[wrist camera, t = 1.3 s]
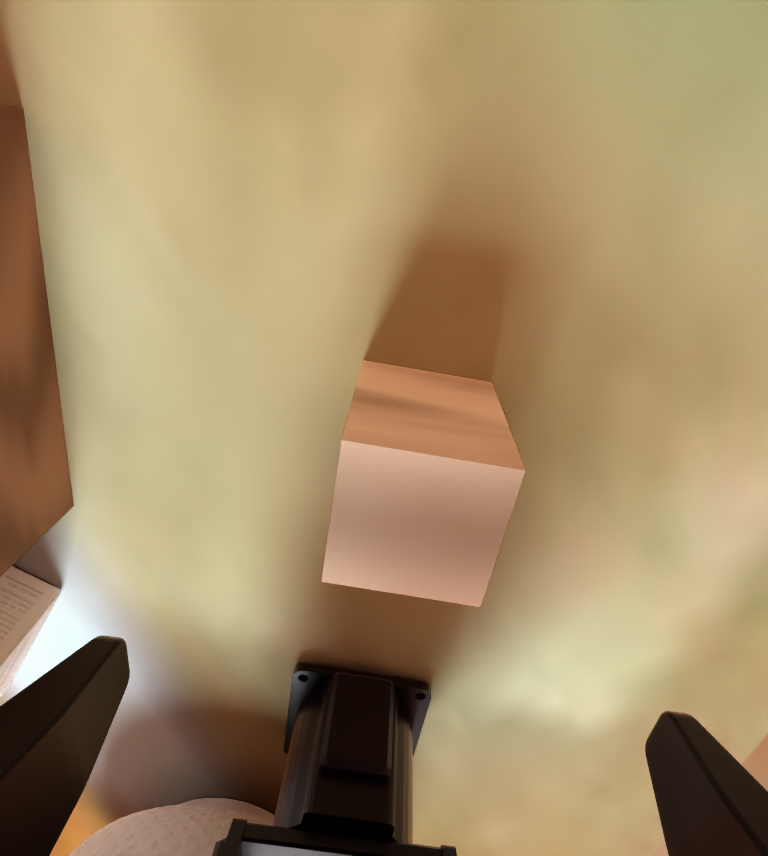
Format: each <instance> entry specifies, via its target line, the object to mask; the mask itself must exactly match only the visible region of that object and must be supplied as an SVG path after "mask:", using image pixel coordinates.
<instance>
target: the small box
mask: <svg viewBox="0 0 768 856" xmlns="http://www.w3.org/2000/svg"><path fill="white" fill-rule="evenodd" d="M60 593H61V590H60V589H59V588H57V587H54V586H52V585H50V584H48V583H46V582H44V581H42V580H40V579H38V578H36V577H33V576H31V575H29V574H27V573H25V572H23V571H21V570H19V569H17V568H15V567H13V566H11V567H10V568H9V569H8V570H7V571H6V572H5V573H4V574H3V575H2V576H1V577H0V697H1V696H2V695H3V693H4V692H5V691H6V690H7V688H8V687H9V686H10V684H11V683H12V681H13V678H14V677H15V675H16V673H17V671H18V669H19V667H20V666H21V664H22V662H23V660H24V658H25V656H26V655H27V653H28V651H29V649H30V647H31V645H32V644H33V642H34V640H35V638H36V636H37V635H38V633H39V631H40V629H41V627H42V625H43V624H44V622H45V620H46V618H47V616H48V614H49V612H50V611H51V609H52V607H53V605H54V603H55V602H56V600H57V598H58V597H59V595H60Z"/></svg>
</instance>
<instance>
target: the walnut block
mask: <svg viewBox="0 0 768 856" xmlns="http://www.w3.org/2000/svg"><path fill="white" fill-rule="evenodd" d="M73 506H74V505H73V497H72V490H71V482H70V474H69V466H68V458H67V450H66V442H65V434H64V426H63V418H62V410H61V403H60V395H59V387H58V379H57V371H56V363H55V355H54V347H53V339H52V331H51V324H50V316H49V308H48V300H47V292H46V284H45V276H44V268H43V260H42V252H41V245H40V237H39V229H38V221H37V213H36V205H35V197H34V189H33V181H32V173H31V166H30V158H29V150H28V142H27V134H26V126H25V118H24V110H23V109H21V108H16V107H10V106H5V105H0V577H1V576H2V575H3V574H4V573H5V572H6V571H7V570H8V569H9V568H10V567H11V566H12V565H13V564H14V563H15V562H16V561H18V560H19V559H20V558H21V557H22V556H23V555H24V554H25V553H26V552H27V551H28V550H29V549H30V548H31V547H32V546H33V545H34V544H35V543H36V542H37V541H38V540H39V539H40V538H41V537H42V536H43V535H44V534H45V533H46V532H47V531H48V530H49V529H50V528H51V527H52V526H53V525H55V524H56V523H57V522H58V521H59V520H60V519H61V518H62V517H63V516H64V515H65V514H66V513H67V512H68V511H69V510H70V509H71V508H72V507H73Z"/></svg>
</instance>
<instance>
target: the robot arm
mask: <svg viewBox="0 0 768 856" xmlns="http://www.w3.org/2000/svg"><path fill="white" fill-rule="evenodd" d="M129 674H130V670H129V662H128V654H127V646H126V642H125V641H124V639H122V638H118V637H110V636H98V637H96V638H94V639H93V640H91V641H90V642H88V643H87V644H86V645H84V646H83V647H82V648H80V649H79V650H77V651H76V652H75V653H73V654H72V655H71V656H69V657H68V658H66V659H65V660H64V661H62V662H61V663H59V664H58V665H57V666H55V667H54V668H53V669H51V670H50V671H48V672H47V673H46V674H44V675H43V676H41V677H40V678H39V679H37V680H36V681H35V682H33V683H32V684H30V685H29V686H28V687H26V688H25V689H24V690H22V691H21V692H19V693H18V694H17V695H15V696H14V697H12V698H11V699H10V700H8V701H7V702H6V703H4V704H3V705H1V706H0V856H49V855H50V853H51V851H52V849H53V847H54V846H55V844H56V842H57V840H58V838H59V836H60V834H61V832H62V830H63V828H64V827H65V825H66V823H67V821H68V819H69V817H70V815H71V813H72V811H73V809H74V808H75V806H76V804H77V802H78V800H79V798H80V796H81V794H82V792H83V790H84V788H85V786H86V783H87V781H88V779H89V776H90V774H91V772H92V770H93V767H94V765H95V762H96V760H97V758H98V755H99V753H100V750H101V748H102V745H103V743H104V741H105V738H106V736H107V733H108V731H109V728H110V726H111V724H112V721H113V719H114V716H115V714H116V711H117V709H118V707H119V704H120V702H121V699H122V697H123V695H124V692H125V690H126V687H127V684H128V681H129ZM430 699H431V687H430V686H429V684H427V683H425V682H421V681H415V680H408V679H402V678H396V677H389V676H383V675H376V674H370V673H363V672H357V671H351V670H344V669H338V668H331V667H325V666H319V665H312V664H304V663H302V664H298V665H297V666H296V667H295V669H294V673H293V677H292V686H291V694H290V702H289V710H288V718H287V726H286V734H285V742H284V752H285V753H286V754H287V755H288V756H287V760H286V765H285V769H284V774H283V779H282V783H281V788H280V793H279V797H278V802H277V806H276V811H275V816H274V820H273V825H272V826H270V825H262V824H254V823H247V820H246V819H238V818H233V820H232V823H231V826H230V829H229V832H228V835H227V838H225V839H222V840H220V841H217V842H216V843H215V847H214V850H213V853H212V856H457V854H456V848H455V847H454V846H446V845H441V847H440V848H439V847H431V846H424V845H416V844H413V755H414V752H415V749H416V745H417V742H418V739H419V735H420V732H421V729H422V726H423V722H424V719H425V716H426V713H427V709H428V706H429V703H430ZM645 751H646V758H647V763H648V767H649V772H650V776H651V780H652V785H653V789H654V794H655V798H656V803H657V807H658V811H659V816H660V820H661V825H662V829H663V834H664V838H665V842H666V846H667V850H668V854H669V856H768V791H766V789H765V788H764V787H763V786H762V785H761V784H760V783H759V782H758V781H757V780H756V779H755V778H754V777H753V776H752V775H751V774H750V773H749V772H748V771H747V770H746V769H745V768H744V767H743V766H742V765H741V764H740V763H739V762H738V761H737V760H736V759H735V758H734V757H733V756H732V755H731V754H730V753H729V752H728V751H727V750H726V749H725V748H724V747H723V746H722V745H721V744H720V743H719V742H718V741H717V740H716V739H715V738H714V737H713V736H712V735H711V734H710V733H709V732H708V731H707V730H706V729H705V728H704V727H703V726H702V725H701V724H700V723H699V722H698V721H697V720H696V719H695V718H694V717H692V716H691V715H689V714H685V713H679V712H671V711H666V712H664V713H662V714H661V715H660V717H659V719H658V721H657V722H656V724H655V726H654V728H653V730H652V731H651V733H650V735H649V737H648V739H647V741H646V748H645Z"/></svg>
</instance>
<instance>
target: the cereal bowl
mask: <svg viewBox="0 0 768 856" xmlns="http://www.w3.org/2000/svg"><path fill="white" fill-rule="evenodd" d="M274 816H275V815H273V814H272V813H270V812H268V811H266V810H264V809H262V808H260V807H257V806H255V805H252V804H249V803H247V802H243V801H239V800H234V799H228V798H201V799H194V800H190V801H187V802H184V803H182V804H178V805H166V806H164V807H155V808H152V809H147V810H142V811H140V812H136V813H132V814H130V815H128V816H126V817H121V818H119V819H117V820H116V821H114V822H112V823H109V824H107V825H106V826H105V827H103V828H102V829H100V830H98V831H96V832H95V833H94V834H93V835H92V836H90V837H88V838H86V839H85V840H84V841H83V842H82V843H81V844H80V845H79V846H78V847H77V848H75V849H74V850H73V851H72V852H71V853H70V854H69V856H212V853H213V850H214V847H215V843H216V842H217V841H220V840H222V839H225V838H227V835H228V832H229V829H230V826H231V823H232V820H233V818H238V819H246V820H247V823H254V824H262V825H270V826H272V825H273V820H274Z"/></svg>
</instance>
